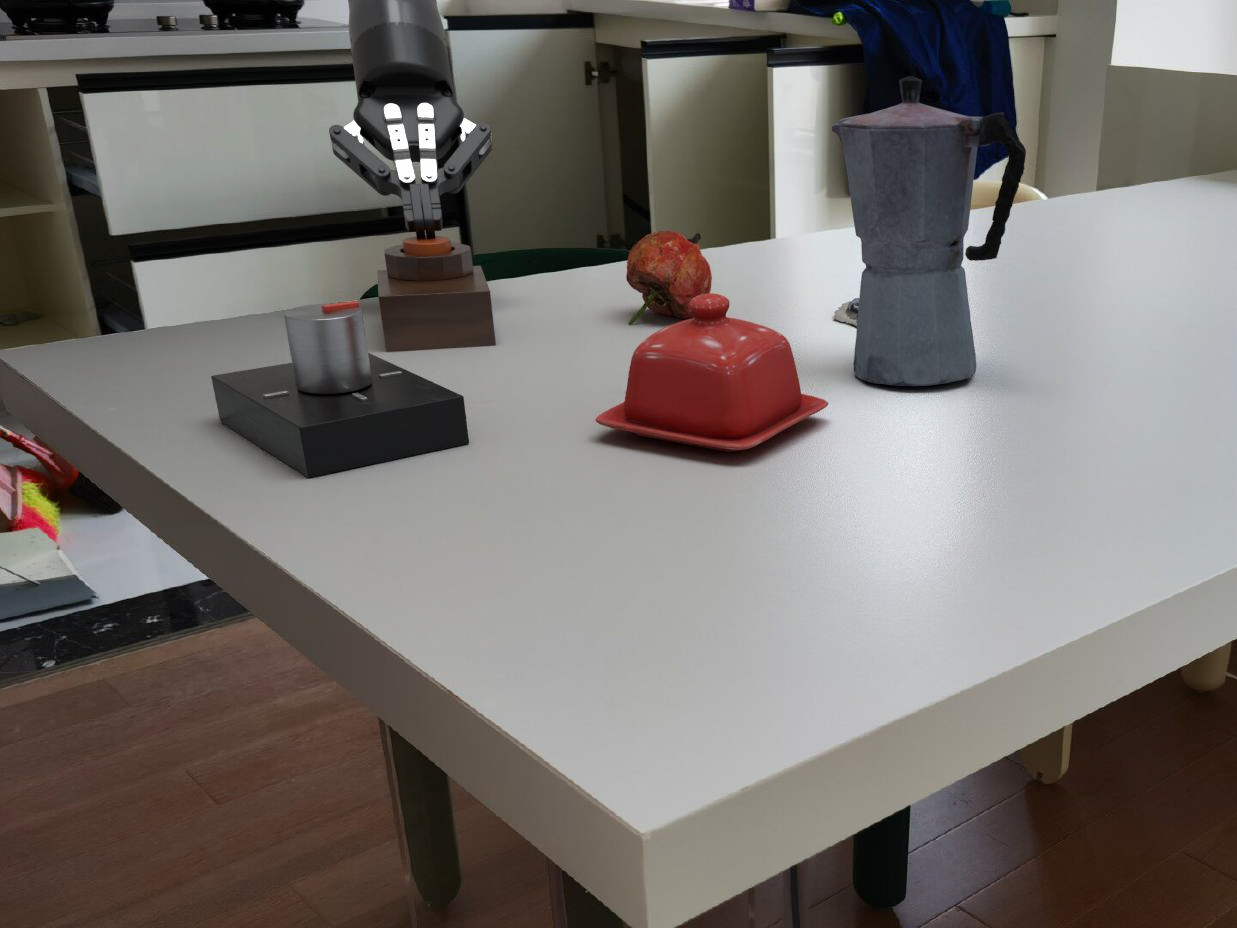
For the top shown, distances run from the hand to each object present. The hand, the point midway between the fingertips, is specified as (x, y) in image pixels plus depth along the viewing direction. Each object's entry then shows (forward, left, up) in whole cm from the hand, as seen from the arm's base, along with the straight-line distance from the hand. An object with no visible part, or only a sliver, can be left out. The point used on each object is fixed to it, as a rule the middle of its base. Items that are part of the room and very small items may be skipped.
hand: (425, 232), depth 109 cm
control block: (+1, -3, -7) cm, 8 cm away
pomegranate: (+18, +4, -7) cm, 20 cm away
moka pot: (+39, -12, -7) cm, 41 cm away
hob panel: (+3, -28, -7) cm, 29 cm away
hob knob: (+3, -28, -4) cm, 29 cm away
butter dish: (+26, -26, -7) cm, 37 cm away
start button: (0, 0, -3) cm, 3 cm away
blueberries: (+35, +6, -7) cm, 36 cm away
